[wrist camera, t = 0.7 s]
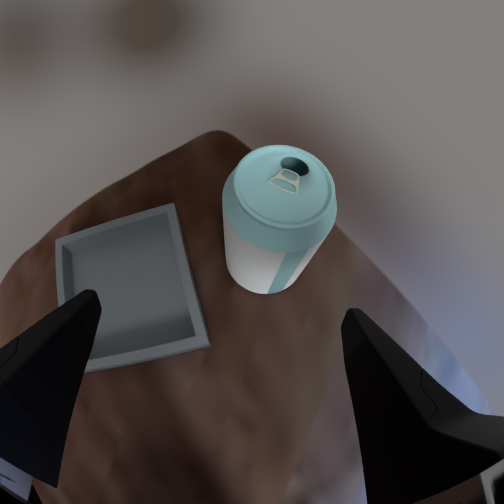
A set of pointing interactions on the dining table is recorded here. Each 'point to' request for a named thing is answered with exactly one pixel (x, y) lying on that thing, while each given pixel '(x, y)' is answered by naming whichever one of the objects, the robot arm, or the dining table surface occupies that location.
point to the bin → (134, 287)
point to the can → (275, 216)
